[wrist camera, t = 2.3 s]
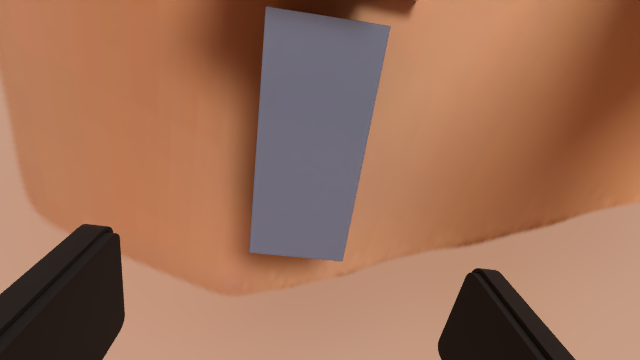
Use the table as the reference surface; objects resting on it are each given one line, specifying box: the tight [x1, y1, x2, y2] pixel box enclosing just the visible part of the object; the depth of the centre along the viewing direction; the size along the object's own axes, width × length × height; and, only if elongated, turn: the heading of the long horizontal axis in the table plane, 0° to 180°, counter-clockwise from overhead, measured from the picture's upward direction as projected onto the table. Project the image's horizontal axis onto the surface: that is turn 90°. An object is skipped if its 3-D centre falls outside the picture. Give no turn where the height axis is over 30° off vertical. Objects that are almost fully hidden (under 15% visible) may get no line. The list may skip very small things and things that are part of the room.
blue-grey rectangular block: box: [249, 6, 390, 261], centre depth 21 cm, size 6×14×5 cm, turn 172°
